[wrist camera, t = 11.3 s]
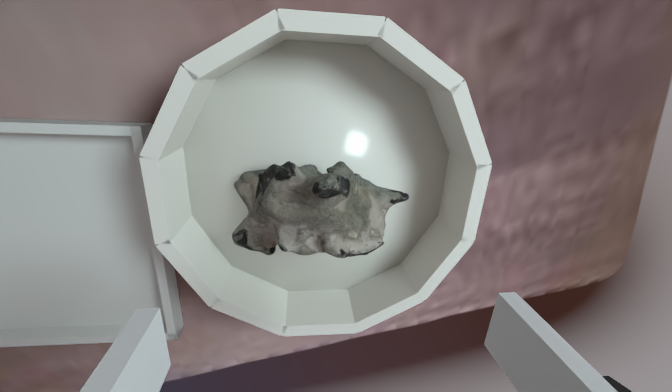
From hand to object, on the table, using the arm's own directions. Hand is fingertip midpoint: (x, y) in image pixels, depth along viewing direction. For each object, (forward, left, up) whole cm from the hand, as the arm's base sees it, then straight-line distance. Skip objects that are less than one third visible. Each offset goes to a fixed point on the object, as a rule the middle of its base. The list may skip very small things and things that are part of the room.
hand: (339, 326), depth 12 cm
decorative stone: (0, -1, -18) cm, 18 cm away
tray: (-24, -6, -19) cm, 31 cm away
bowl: (0, 0, -19) cm, 19 cm away
